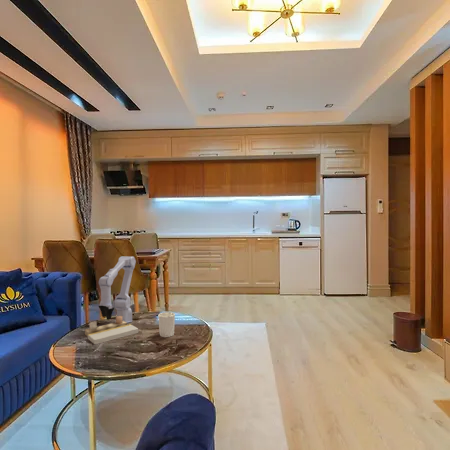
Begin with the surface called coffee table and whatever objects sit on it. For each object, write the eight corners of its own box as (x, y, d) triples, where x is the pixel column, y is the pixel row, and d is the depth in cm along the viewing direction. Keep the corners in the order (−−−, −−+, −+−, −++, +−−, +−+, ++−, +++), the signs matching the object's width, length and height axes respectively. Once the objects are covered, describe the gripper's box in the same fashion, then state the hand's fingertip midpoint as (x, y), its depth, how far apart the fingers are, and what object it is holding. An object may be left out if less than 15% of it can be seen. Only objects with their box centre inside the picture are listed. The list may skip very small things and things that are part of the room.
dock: (130, 328, 200) (130, 323, 200) (138, 332, 191) (138, 328, 191) (87, 338, 182) (87, 334, 182) (94, 344, 174) (94, 339, 174)
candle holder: (177, 331, 192) (176, 312, 192) (172, 337, 182) (172, 317, 182) (161, 331, 193) (161, 311, 193) (156, 337, 183) (155, 317, 183)
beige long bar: (123, 326, 205) (123, 320, 205) (127, 327, 201) (126, 322, 201) (85, 335, 189) (85, 329, 189) (87, 337, 185) (87, 331, 185)
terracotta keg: (120, 321, 203) (120, 315, 203) (123, 323, 200) (123, 316, 200) (114, 322, 200) (114, 316, 200) (117, 324, 197) (117, 318, 197)
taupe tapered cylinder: (95, 327, 193) (95, 320, 193) (97, 329, 190) (97, 322, 190) (88, 329, 190) (88, 322, 190) (90, 330, 187) (90, 324, 187)
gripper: (95, 295, 197) (95, 316, 198) (103, 299, 186) (104, 322, 187) (106, 293, 202) (106, 314, 202) (115, 297, 191) (116, 319, 191)
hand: (106, 317), depth 195 cm, fingers open, 7 cm apart
